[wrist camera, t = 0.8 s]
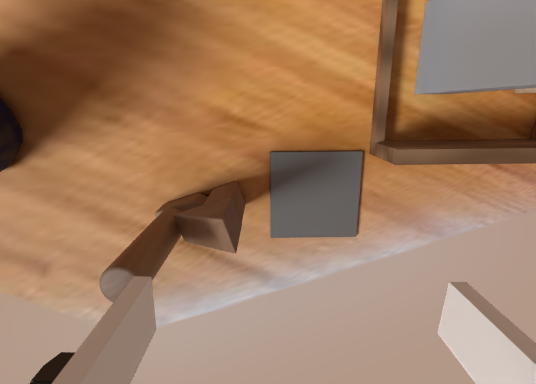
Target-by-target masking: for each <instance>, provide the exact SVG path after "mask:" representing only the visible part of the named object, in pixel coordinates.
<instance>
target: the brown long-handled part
mask: <svg viewBox="0 0 536 384" xmlns="http://www.w3.org/2000/svg"><path fill="white" fill-rule="evenodd" d="M244 208H245V200H244V197H243V195H242V192H241V189H240V186H239V183H238V182H236V181H235V182H232V183H228V184H225V185H222V186H219V187H216V188H214V189H213V190H212V192H211V193H210V195H209V197H208V196H206V195H203V194H201V193H197V194H194V195H191V196H187V197H184V198H181V199H178V200H175V201H172V202H168V203H165V204H164V205H163V206H162V207H161V208H160V209H158V210H157V211H156V216H157V218H156V219H155V220H154V221H153V222H152V223H151V224H150V225H149V226H148V227H147V228H146V229H145V230H144V231H143V232H142V233H141V234H140V235H139V236H138V237H137V238H136V239H135V240H134V241H133V242H132V243H131V244H130V245H129V246H128V247H127V248H126V249H125V250H124V251H123V252H122V253H121V255H120V256H119V257H118V258H117V259H116V260H115V261H114V262H113V263H112V264H111V265H110V266H109V267H108V268H107V269H106V270H105V271H104V272H103V273H102V275H101V278H100V288H101V291H102V293H103V294H104V296H105V297H106V298H107V299H109V300H110V301H112V302H114V301H115V300H116V299H117V297H118V296H119V295H120V294H121V292H122V291H123V290H124V288H125V287H126V286H127V284H128V283H129V282H130V280H131V279H132V278H133V277H134V276H136V277H151V279H152V280H153V278H154V277H155V275H156V274H157V272H158V271H159V269H160V268H161V266H162V264H163V263H164V261H165V260H166V258H167V257H168V255H169V254H170V252H171V251H172V249H173V247H174V246H175V244H176V243H177V241H178V240H179V238H180V237H181V235H182V237H183V239H184V241H185V242H188V243H192V244H197V245H201V246H205V247H210V248H214V249H218V250H223V251H227V252H231V253H236V251H237V246H238V241H239V236H240V231H241V226H242V218H243V213H244Z"/></svg>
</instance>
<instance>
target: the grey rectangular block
mask: <svg viewBox="0 0 536 384" xmlns="http://www.w3.org/2000/svg"><path fill="white" fill-rule="evenodd" d="M526 88H536V0H429V1H428V2H426V4H425V12H424V20H423V28H422V36H421V45H420V53H419V61H418V69H417V77H416V86H415V94H454V93H469V92H483V91H498V90H512V89H526Z"/></svg>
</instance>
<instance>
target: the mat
mask: <svg viewBox="0 0 536 384" xmlns="http://www.w3.org/2000/svg"><path fill="white" fill-rule="evenodd" d="M362 158H363V151H320V152H270V184H271V238H290V237H356V232H357V220H358V207H359V195H360V183H361V170H362Z"/></svg>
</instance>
